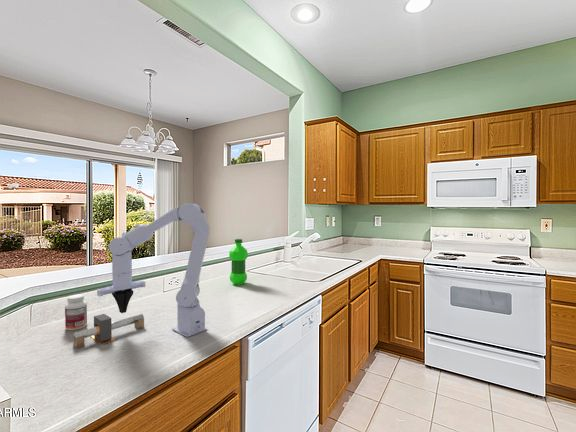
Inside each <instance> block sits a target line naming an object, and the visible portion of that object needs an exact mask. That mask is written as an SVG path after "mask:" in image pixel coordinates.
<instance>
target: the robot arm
mask: <svg viewBox="0 0 576 432" xmlns="http://www.w3.org/2000/svg"><path fill="white" fill-rule="evenodd" d="M179 221H180V222H181V221H183V222H184V223H186V224H187V225H189V227H190V228H191V229H192V230H193V232H194V234H193V239H192V244H191V249H190V254H189V257H188V260H187V261H188V263H187V266H186V270H185V275H184V278H183V281H182V283H181V287H180V289H179V290H178V292H177V293H176V294H175V301H176V303H177V304H176V305H177V309H176V310H177V312H176V313H177V326H175V327H172V331H174V332H175V333H176V332H177V334H180V335H182V336H184V337H186V338H188V337H191V336H194V335H196V334H199V333H202V332H204V331H206V330H208V328H207V327H206V313H205V310H204V308H203V307H201V305H200V300H199V298H198V296H199V295H200V291H201V289H200V276H201V272H202V267H203V263H204V260H205V259H204V258H205V254H206V250H207V249H206V248H207V246H208V241H209V236H210V232H211V227H210V224H209V222H208V218H207V216H206V213H205V210H204V209H203V208H202V207H201V206H200V205H199V204H197V203H194V202H193V203H191V202H190V203H189V202H185V203H184V204H182V205H181V206H177V207H174V208H173V209H171V210H169V211H167V212H166V213H164V214H163V215H161V216H159V217H158V218H156V219H155V220H153V221H151V222H150V223H148V224H145V223H141V224H135V225H134V228H132V229H131V230H129V231H126V232H123V233H121V236H118V237H114V238H113V239H111V240H110V242H109V244H108V249H109V252H110V253H111V257H112V258H111V260H112V261H111V262H112V265H111V268H112V269H111V271H112V272H111V273H112V285H109V286H106V287H102V288H97V289H96V294H97V296H98V297H104V296H107V295H112V297H113V298H114V300H115V302H116V304H117V307H118V311H119V313H121V314H124V313H127V310H128V306H129V303H130V300H131V298H132V296H133V295H134V290H133V289H138V288H146V281H145V280H138V281H133V269H132V268H133V259H132V257H133V256H132V251H133V250H134V248H137V247H139V246H141V245H142V244H144V243H145V242H148V241H149V240H151V239H152V238H153V234H154V233H155V232H157V231H158V230H160V229H162V228H164V227H166V226H168V225H169V224H172V223H173V222H179Z"/></svg>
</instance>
